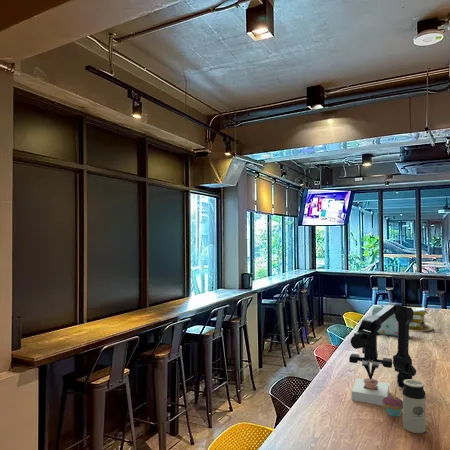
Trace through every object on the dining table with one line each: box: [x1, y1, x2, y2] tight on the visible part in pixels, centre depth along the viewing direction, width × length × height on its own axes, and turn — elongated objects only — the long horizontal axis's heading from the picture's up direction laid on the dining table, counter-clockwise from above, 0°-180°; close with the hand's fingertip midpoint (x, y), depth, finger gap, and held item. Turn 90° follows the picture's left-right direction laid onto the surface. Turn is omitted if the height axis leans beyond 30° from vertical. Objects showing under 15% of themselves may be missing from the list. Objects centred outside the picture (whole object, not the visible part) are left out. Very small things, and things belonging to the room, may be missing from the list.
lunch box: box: [371, 304, 398, 337], centre depth 298 cm, size 27×10×21 cm, turn 55°
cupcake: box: [382, 388, 403, 418], centre depth 166 cm, size 9×8×12 cm
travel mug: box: [402, 378, 427, 434], centre depth 153 cm, size 8×8×18 cm
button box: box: [350, 377, 390, 407], centre depth 185 cm, size 15×18×4 cm
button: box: [363, 377, 379, 390], centre depth 185 cm, size 6×6×4 cm
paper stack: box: [409, 306, 434, 333], centre depth 318 cm, size 25×25×17 cm
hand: (370, 378), depth 185 cm, fingers closed
